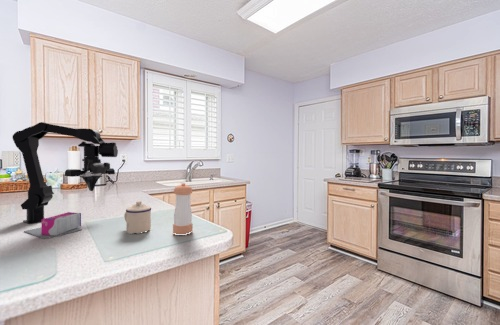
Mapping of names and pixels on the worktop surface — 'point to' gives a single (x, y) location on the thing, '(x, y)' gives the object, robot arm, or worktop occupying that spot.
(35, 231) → the slate mat
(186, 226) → the pepper shaker
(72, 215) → the supplement box
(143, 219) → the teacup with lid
